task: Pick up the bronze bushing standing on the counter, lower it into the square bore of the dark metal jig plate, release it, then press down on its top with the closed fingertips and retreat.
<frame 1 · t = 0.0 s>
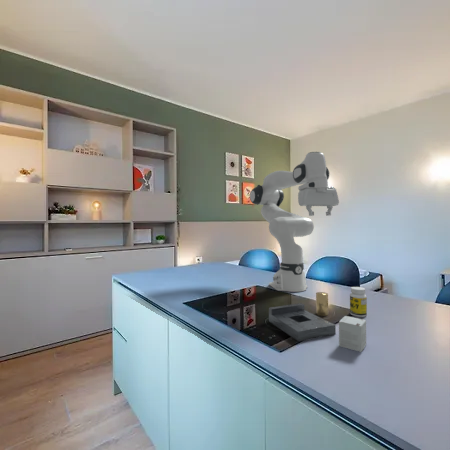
hand: (320, 215, 122), 39 cm above the counter, tool pointing down, fingers open, 8 cm apart
supplement bottle: (358, 315, 103), on the counter
jig: (300, 327, 92), on the counter
skincare box: (352, 346, 78), on the counter
bushing: (322, 313, 105), on the counter
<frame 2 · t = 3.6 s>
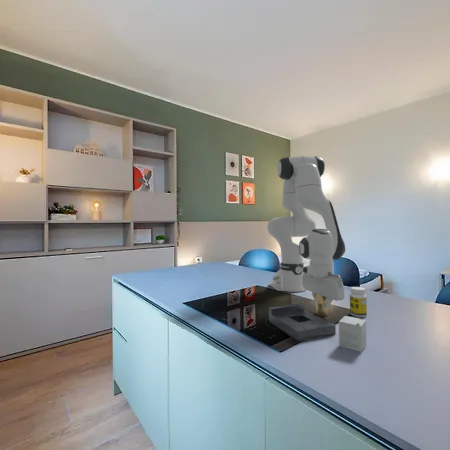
hand: (322, 305, 105), 3 cm above the counter, tool pointing down, fingers closed on bushing, 4 cm apart
bushing: (322, 313, 105), on the counter, touching gripper
everything else where it was.
when the fingers open (5 cm above the counter, at t = 8.3 s): bushing drops 1 cm, resting in jig.
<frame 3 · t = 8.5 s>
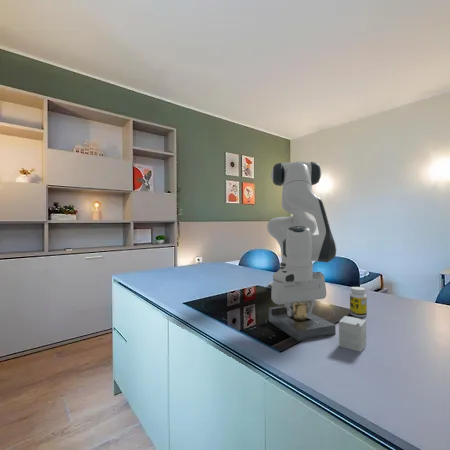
hand: (299, 313, 92), 5 cm above the counter, tool pointing down, fingers open, 6 cm apart
bushing: (300, 327, 92), resting in jig
everything else where it was.
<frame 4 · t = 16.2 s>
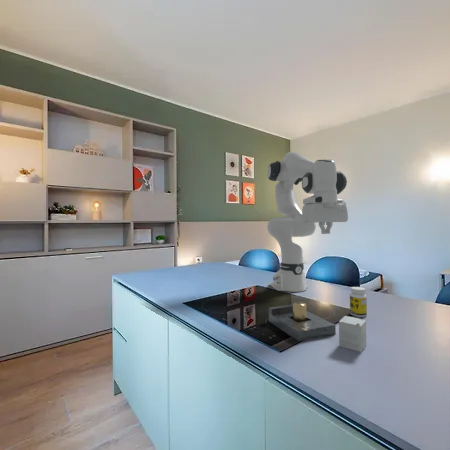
hand: (325, 233, 108), 31 cm above the counter, tool pointing down, fingers closed
nothing on the counter moved.
at the end: bushing 0.1 cm off-centre on the jig, point 0.0 cm above the jig's base; bushing tilted 0°; the gripper is holding nothing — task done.
